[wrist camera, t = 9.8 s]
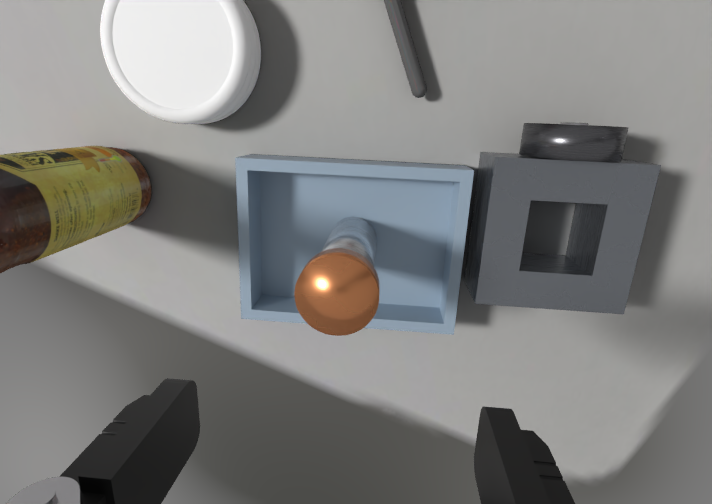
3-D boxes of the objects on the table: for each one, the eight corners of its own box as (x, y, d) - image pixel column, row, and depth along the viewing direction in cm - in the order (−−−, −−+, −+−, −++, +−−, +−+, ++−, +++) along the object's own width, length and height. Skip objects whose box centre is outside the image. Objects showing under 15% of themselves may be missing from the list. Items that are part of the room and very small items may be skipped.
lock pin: (383, 212, 32) (381, 259, 21) (380, 268, 33) (376, 338, 22) (326, 209, 32) (294, 253, 21) (325, 264, 34) (294, 332, 23)
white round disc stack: (276, -6, 29) (261, -23, 26) (249, 139, 32) (233, 141, 29) (135, -46, 29) (101, -68, 26) (121, 103, 32) (90, 101, 29)
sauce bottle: (132, 132, 32) (-228, 146, 14) (169, 209, 34) (-108, 317, 15) (61, 161, 34) (-364, 212, 15) (100, 234, 35) (-239, 366, 16)
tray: (464, 165, 31) (473, 170, 28) (447, 314, 35) (453, 334, 32) (251, 154, 32) (235, 157, 29) (255, 300, 36) (241, 318, 32)
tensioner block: (629, 126, 30) (687, 127, 24) (593, 289, 33) (635, 324, 28) (484, 119, 30) (507, 119, 25) (464, 280, 34) (479, 312, 28)
